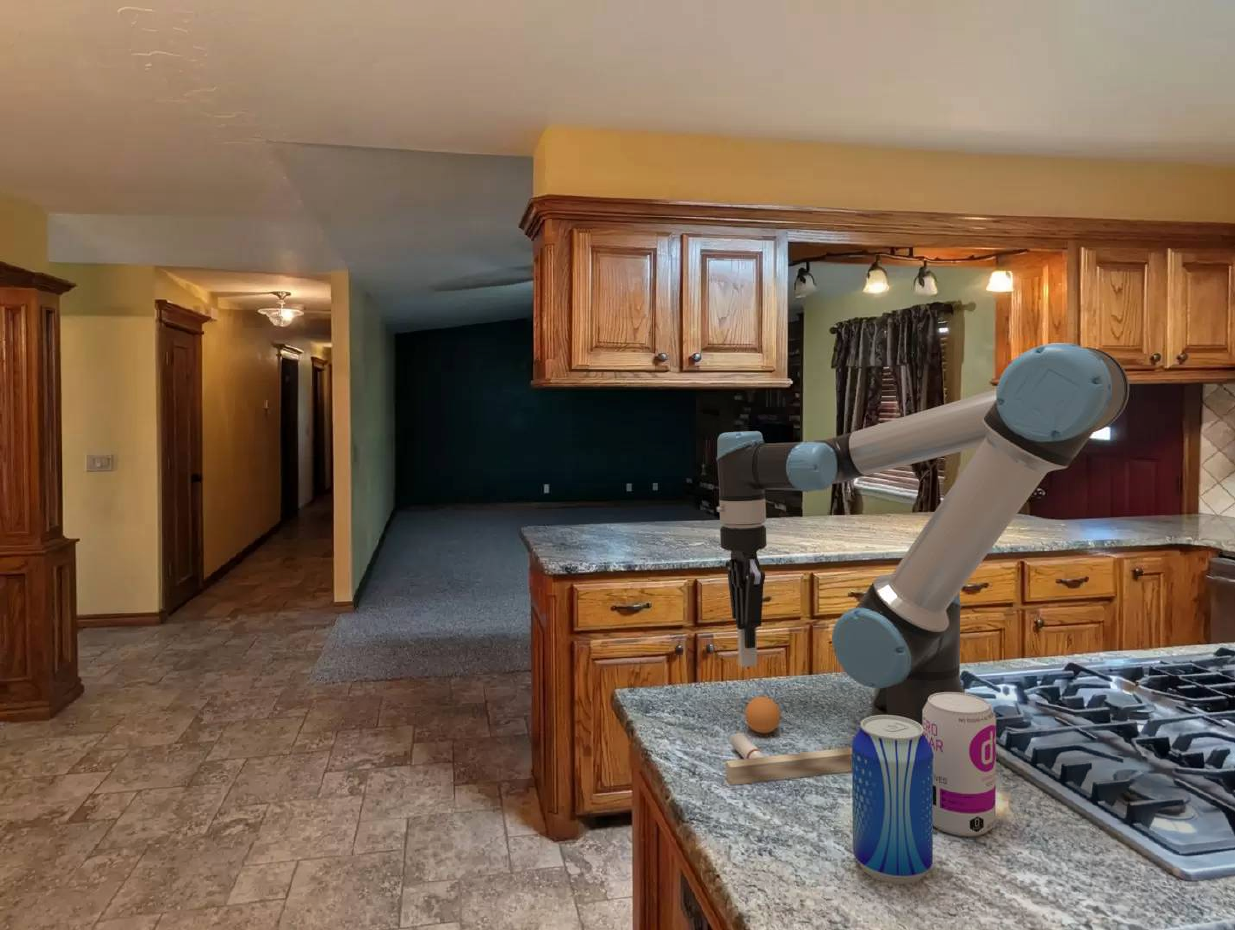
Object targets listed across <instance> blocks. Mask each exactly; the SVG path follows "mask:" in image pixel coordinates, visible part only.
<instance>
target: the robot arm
mask: <svg viewBox="0 0 1235 930" xmlns="http://www.w3.org/2000/svg"><path fill="white" fill-rule="evenodd" d="M1129 395H1130V383H1129V378H1128V375H1127V372H1126V371H1125V369H1124V367H1123V366H1122V365H1121V363H1120V362H1119V361H1118V360H1117V359H1116V358H1115V357H1113V356H1112V355H1110V353H1107V352H1105V351H1103V350H1099V349H1097V348H1092V347H1087V346H1080V345H1078V344H1075V343H1071V342H1070V343H1069V342H1053V343H1052V342H1051V343H1048V344H1047V343H1046V344H1043V345H1038V346H1036V347H1034V348H1030V349H1029V350H1027V351H1026V350H1025V352H1023V353H1021V354H1020V355H1018V356H1017V357H1015V358H1014V359H1013V360H1012V361H1010V363H1009V364H1008V365H1007V367H1006V368H1005V369H1004V371H1003V372H1002V374H1001V375H1000V379H999V381H998V383H997V388H996V389H995V388H994V389H993V390H989V391H985V392H983V393H979V394H976V395H971V396H969V397H966V398H963V399H960V400H955V401H953V402H950V403H946V404H942V405H939V406H935V407H932V408H930V409H926V410H922V411H919V412H916V413H915V412H914V413H912V414H909V415H906V416H902V417H899V418H898V417H897V418H895V419H893V420H889V421H885V422H882V423H880V424H879V423H878V424H876V425H873V426H869V427H865V428H862V429H859V430H856V431H853V432H849V433H845V434H841V435H837V436H835V437H831V438H826V439H821V440H820V439H818V440H817V439H816V440H807V441H806V440H805V441H797V442H777V443H770V442H767V443H766V442H765V440H764V438H763V434H762V432H760V431H757V430H754V431H748V430H747V431H733V432H732V431H731V432H723V433H721V434H719V435H718V437H717V445H716V446H717V454H716V455H717V456H716V464H717V477H718V492H719V494H718V495H719V497H718V498H719V499H718V502H719V506H716V512H718V513H719V522H720V523H721V525H722V526H721V528H719V529H720V530H719V533H720V536H719V537H720V547H721V548H722V550H724V551H728V552H730V559H729V561H725V564H724V565H725V569H726V573H727V581H728V588H729V589H728V590H729V598H730V599H729V600H730V607H731V617H732V619H733V620H735V625H736V629H737V646H738V647H737V648H738V650H737V652H738V653H737V654H738V666H739V667H741V668H750V667H758V651H757V650H758V647H757V646H758V645H757V628H758V627H761V626H762V618H763V617H762V616H763V613H762V612H763V598H764V584H765V581H766V574H765V571H760V568H761V567H760V561H759V559H758V551H759V550H763V549H765V548H766V547H767V527H766V526H765V525H764V524H765V522H766V521H767V511H766V510H767V509H766V497H765V496H766V495H765V492H766V490H768V491H769V490H774V491H775V490H777V491H780V490H781V491H797V492H798V491H799V492H803V493H805V492H806V493H809V492H815V491H816V492H817V491H820V492H821V491H825V490H828V489H829V488H831V485H833V484H843V483H848V482H851V481H853V480H855V479H859V478H863V477H865V476H870V475H872V474H877V473H880V472H886V471H890V470H893V469H897V468H900V467H904V466H909V465H912V464H917V463H920V462H925V461H929V460H933V459H937V458H941V457H944V456H948V455H952V454H956V453H959V452H960V453H961V452H964V451H965V452H966V451H968V450H972V449H976V451H975V452H974V453H973V455H972V457H971V458H970V459H969V461H968V462H967V464H966V465H965V466H964V468H963V470H962V471H961V473H960V474H959V475H958V477H957V479H956V480H955V482H954V483H953V484H952V486H951V487H950V489H949V490H948V491H947V492H946V494H945V496H944V497H943V499H942V501H941V502H940V503H939V505H938V506H937V508H936V509H935V511H934V512H933V513H932V515H931V516H930V518H929V519H928V521H927V523H926V524H925V525H924V527H923V528H922V529H921V531H920V533H918V536H917V537H916V538H915V539H914V541H913V543H912V544H911V545H910V547H909V549H908V550H907V551H906V553H905V555H904V556H903V558H901V560H900V561H899V563H898V564H897V566H896V567H895V569H894V571H893V572H892V573H889V574H882V575H878V576H877V577H876V578H875V579H874V581H873V582H872V583H871V585H870V586H869V588H868V589H867V590H866V592H865V593H864V595H863V596H862V597H861V600H860V601H858V604H857V605H856V606H855V607H854V608H851V609H848V610H847V611H845V612H844V613H842V615H841V616H840V617H839V618H838V619H837V621H836V622H835V624H834V626H833V629H832V634H831V643H832V644H831V645H832V648H833V651H834V656H835V658H836V661H837V662H838V664H839V666H840V667H841V669H842V670H843V671H844V672H845V673H846V674H847V676H849V677H850V678H851V679H853V680H854V681H856V682H857V683H859V684H860V685H862V686H866V687H868V688H872V689H873V688H874V689H875V691H874V694H873V697H872V701H871V703H870V704H871V705H870V706H871V709H870V714H871V715H870V716H876V715H893V716H900V717H905V718H908V719H911V720H914V721H916V722H918V723H919V724H920V725H922V710H923V708H924V706H925V705H926V703H927V701H928V698H929V696H930V695H933V694H935V693H941V692H958V693H966V692H965V689H964V686H963V683H962V681H961V676H960V675H961V673H960V672H961V671H960V670H961V668H960V666H961V665H960V664H961V608H962V603H961V599H960V591H962V589H963V588H964V587H965V585H966V584H967V582H968V581H969V580H970V578H971V577H972V575H973V574H974V573H975V571H976V570H977V568H978V567H979V566H980V565H981V563H982V561H983V560H984V559H985V558H986V556H987V555H988V554H989V552H990V551H991V550H992V548H993V547H994V545H996V544H995V543H997V541H998V540H999V538H1000V537H1001V536H1002V535H1003V533H1004V531H1005V530H1006V529H1007V528H1008V526H1009V525H1010V524H1011V523H1012V521H1013V520H1014V518H1015V517H1016V516H1017V515H1018V513H1019V512H1020V510H1021V509H1022V507H1023V506H1024V505H1025V503H1026V502H1027V500H1028V499H1029V498H1030V496H1031V495H1032V494H1033V492H1034V491H1035V490H1036V489H1037V487H1038V486H1039V484H1040V483H1041V482H1042V480H1043V479H1044V478H1045V476H1046V475H1047V473H1049V472H1052V471H1058V470H1062V469H1063V470H1064V469H1067V468H1068V467H1069V465H1070V464H1071V463H1072V461H1073V460H1074V459H1075V458H1076V457H1077V455H1078V454H1079V452H1080V451H1081V450H1082V449H1083V447H1084V446H1085V444H1086V443H1087V441H1089V439H1090V438H1091V437H1092V435H1093V434H1094V433H1096V432H1098V431H1101V430H1104V429H1105V428H1107V427H1108V426H1110V425H1111V424H1113V422H1115V421H1116V420H1117V419H1118V418H1119V417H1120V415H1121V414H1122V413H1123V411H1124V410H1125V408H1126V406H1127V403H1128V400H1129V397H1130V396H1129Z"/></svg>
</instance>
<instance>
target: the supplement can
mask: <svg viewBox="0 0 1235 930" xmlns="http://www.w3.org/2000/svg"><path fill="white" fill-rule="evenodd" d="M922 727H923V729H924V733H923V734H924V735H925V737H926V739H927V740H928V742H929V744H930V745H931V747H932V750H933V827H934V828H936V829H937V830H939V831H941V832H944V833H947V834H950V835H952V836H953V835H955V836H958V837H959V836H960V837H978V836H982V835H984V834H986V833H987V832H989V830H991V829H993V828H994V827H995V824H996V813H997V812H996V806H997V805H996V802H997V801H996V799H997V797H996V796H997V794H996V790H997V788H996V786H997V782H996V781H997V780H996V779H997V777H996V776H997V774H996V773H997V772H996V771H997V761H996V760H997V718H996V716H995V713H994V712H993V710H992V708H991V704H990V702H989V701H988V700H986V699H985V698H982V697H980V696H977V695H975V694H970V693H966V692H965V693H958V692H941V693H935V694H933V695H930V696H929V698H928V701H927V703H926V705H925V706H924V708H923V710H922Z"/></svg>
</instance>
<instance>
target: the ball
mask: <svg viewBox="0 0 1235 930" xmlns="http://www.w3.org/2000/svg"><path fill="white" fill-rule="evenodd" d="M781 714H782V713H781V710H780V707H779V706H778V704H777V702H775V701H774V700H773V699H771V698H770V697H766V696H757V697H755V698H753V699H751V700H750V701H749V702H748V704H747V706H746V708H745V712H744V715H745V720H746V723H747V725H748V726H749V727H750V728H751V729H752V731H755V732H756V733H759V734H770V733H771V732H773V731H775V729H777V727H778V726H779V724H780V722H781V718H782V715H781Z"/></svg>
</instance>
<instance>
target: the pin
mask: <svg viewBox="0 0 1235 930" xmlns="http://www.w3.org/2000/svg"><path fill="white" fill-rule="evenodd" d="M730 743H731V747H733V749H735V751H736V752H737V753H738V754H739V755H740V756H741V757H742V758H743V759H751V758H760V757H767V756H766V755H765V754H764V753H763V752H762V750H760V749H759V748H758V747H757V746H756V745H755V744H754V743H753V742H752V741H751V740H750V739H749V738H748V737H747V736H746V735H745V734H744V733H742V732H736V733H735V734H733V735H732V736H731V739H730Z"/></svg>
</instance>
